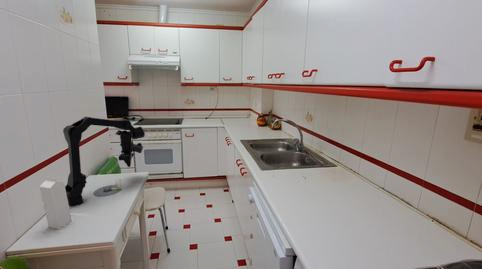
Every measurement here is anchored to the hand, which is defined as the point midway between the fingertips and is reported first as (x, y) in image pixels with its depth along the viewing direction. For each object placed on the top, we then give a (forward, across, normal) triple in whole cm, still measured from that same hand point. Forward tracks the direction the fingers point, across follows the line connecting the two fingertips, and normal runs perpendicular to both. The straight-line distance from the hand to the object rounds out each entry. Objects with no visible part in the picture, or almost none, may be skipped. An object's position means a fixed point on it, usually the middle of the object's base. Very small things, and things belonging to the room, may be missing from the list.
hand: (129, 166), depth 141 cm
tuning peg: (+10, -8, +8) cm, 15 cm away
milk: (+11, -35, +23) cm, 44 cm away
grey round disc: (+11, -8, +11) cm, 17 cm away
